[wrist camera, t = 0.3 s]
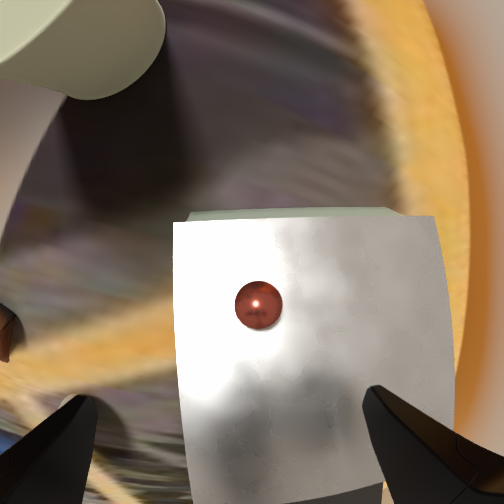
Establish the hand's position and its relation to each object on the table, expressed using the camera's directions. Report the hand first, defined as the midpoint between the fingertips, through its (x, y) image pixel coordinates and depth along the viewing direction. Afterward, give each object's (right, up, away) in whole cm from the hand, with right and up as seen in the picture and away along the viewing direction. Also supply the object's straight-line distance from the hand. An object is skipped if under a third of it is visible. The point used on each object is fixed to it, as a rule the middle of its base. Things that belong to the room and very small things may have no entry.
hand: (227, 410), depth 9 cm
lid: (+5, -2, +5) cm, 7 cm away
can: (-10, +19, +7) cm, 23 cm away
